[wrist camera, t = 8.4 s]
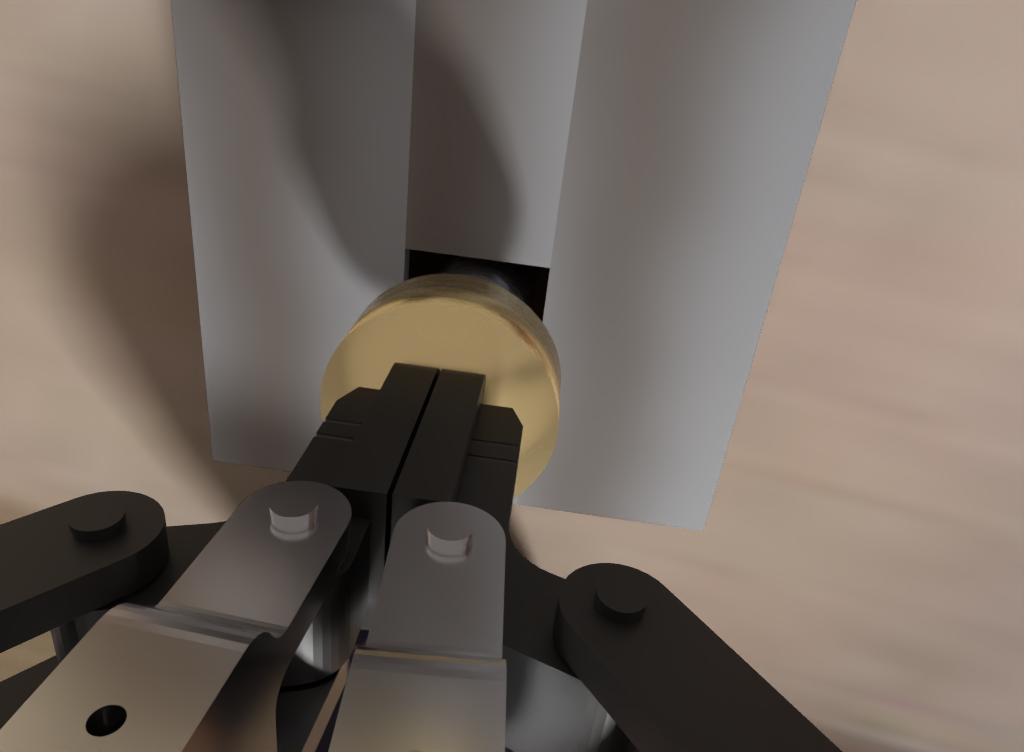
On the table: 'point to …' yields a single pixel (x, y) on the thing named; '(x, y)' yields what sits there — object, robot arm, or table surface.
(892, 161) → the table surface
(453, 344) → the knob
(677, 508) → the mount
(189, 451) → the table surface
